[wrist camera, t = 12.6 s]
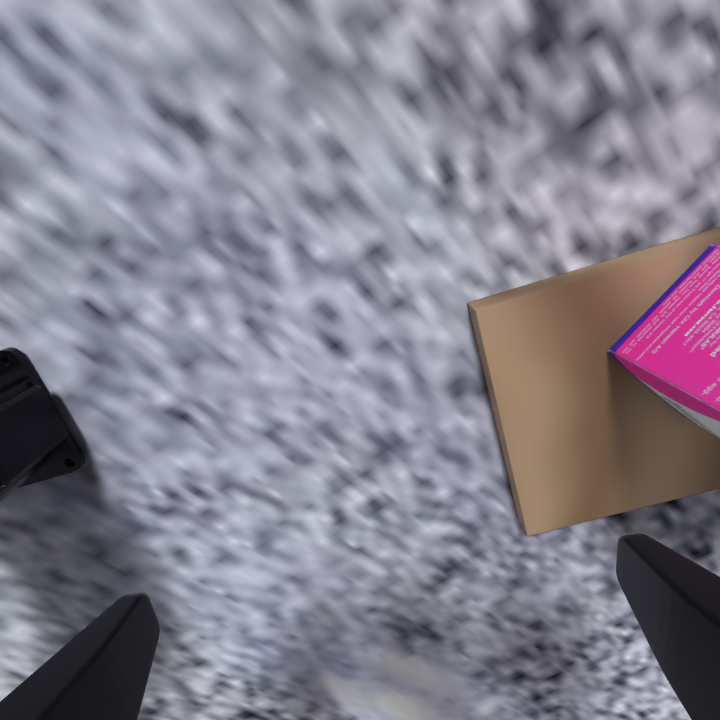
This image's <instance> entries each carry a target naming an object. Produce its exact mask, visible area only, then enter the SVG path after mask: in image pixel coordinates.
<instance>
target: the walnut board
mask: <svg viewBox="0 0 720 720" xmlns="http://www.w3.org/2000/svg"><path fill="white" fill-rule="evenodd" d="M712 244H718V245H720V227H717V228H714V229H711V230H707V231H704V232H701V233H697V234H694V235H691V236H688V237H684V238H681V239H678V240H674V241H671V242H668V243H664V244H661V245H658V246H654V247H651V248H648V249H644V250H641V251H638V252H634V253H631V254H628V255H625V256H621V257H618V258H615V259H611V260H608V261H605V262H601V263H598V264H595V265H591V266H588V267H585V268H581V269H578V270H575V271H571V272H568V273H565V274H562V275H558V276H555V277H552V278H548V279H545V280H542V281H538V282H535V283H532V284H528V285H525V286H522V287H518V288H515V289H512V290H508V291H505V292H502V293H499V294H495V295H492V296H489V297H485V298H482V299H479V300H475V301H472V302H469V303H467V304H468V308H469V312H470V317H471V321H472V325H473V329H474V334H475V338H476V342H477V346H478V351H479V355H480V359H481V363H482V368H483V372H484V376H485V380H486V385H487V389H488V393H489V397H490V402H491V406H492V410H493V414H494V419H495V423H496V427H497V431H498V436H499V440H500V444H501V448H502V453H503V457H504V461H505V465H506V470H507V474H508V478H509V482H510V487H511V491H512V495H513V499H514V504H515V508H516V512H517V516H518V518H519V520H520V522H521V524H522V526H523V528H524V530H525V532H526V534H527V536H530V535H534V534H538V533H542V532H546V531H550V530H554V529H558V528H562V527H566V526H570V525H574V524H578V523H582V522H586V521H590V520H594V519H598V518H602V517H606V516H610V515H614V514H618V513H622V512H626V511H630V510H634V509H638V508H642V507H646V506H650V505H654V504H658V503H663V502H667V501H671V500H675V499H679V498H683V497H687V496H691V495H695V494H699V493H703V492H707V491H711V490H715V489H719V488H720V438H719V437H717V436H715V435H714V434H712V433H711V432H709V431H707V430H706V429H704V428H702V427H701V426H699V425H697V424H695V423H693V422H691V421H690V420H689V419H687V418H686V417H685V416H683V415H682V414H681V413H679V412H678V411H677V410H675V409H674V408H673V407H672V406H670V405H669V404H668V403H666V402H665V401H664V400H663V399H661V398H660V397H659V396H658V395H657V394H655V393H654V392H653V391H652V390H650V389H649V388H648V387H647V386H645V385H644V384H643V383H642V382H641V381H639V380H638V379H637V378H636V377H634V376H633V375H632V374H631V373H630V372H628V371H627V370H626V369H625V368H624V367H623V366H622V365H620V364H619V363H618V362H617V361H616V360H615V359H614V358H613V357H612V356H611V355H610V354H609V353H608V349H609V348H610V347H611V346H612V345H613V344H614V343H615V342H616V341H617V340H618V339H619V338H620V337H621V336H622V335H623V334H624V333H625V332H627V331H628V330H629V329H630V328H631V327H632V326H633V325H634V324H635V323H636V322H637V320H638V319H639V318H640V317H641V316H642V315H643V314H644V313H645V312H646V311H647V310H648V309H649V308H650V307H651V306H652V305H653V304H654V303H655V302H656V301H657V300H658V299H659V298H660V297H661V296H662V295H663V294H664V293H665V292H666V291H667V289H668V288H669V287H670V286H671V285H672V284H673V283H674V282H675V281H676V280H677V279H678V278H679V277H680V276H681V275H682V274H683V273H684V272H685V271H686V270H687V269H688V268H689V267H690V266H691V265H692V264H693V263H694V262H695V261H696V260H697V259H698V258H699V256H700V255H701V254H702V253H703V252H704V251H705V250H706V249H707V248H708V247H709V246H710V245H712Z"/></svg>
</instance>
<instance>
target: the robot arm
mask: <svg viewBox="0 0 720 720" xmlns="http://www.w3.org/2000/svg"><path fill="white" fill-rule="evenodd" d="M8 356H9V357H11V358H12V360H13V363H12V362H10V361H9V359H8ZM70 458H71V459H73V460H74V461H75V463H74V462H72V461H71V460H70ZM84 462H85V458H84V455H83V453H82V452H81V450H80V448H79V447H78V445H77V443H76V442H75V440H74V438H73V437H72V435H71V433H70V432H69V430H68V428H67V427H66V425H65V423H64V422H63V420H62V418H61V417H60V415H59V413H58V412H57V410H56V408H55V407H54V405H53V403H52V402H51V400H50V398H49V397H48V395H47V393H46V392H45V390H44V388H43V387H42V385H41V383H40V382H39V380H38V378H37V377H36V375H35V373H34V372H33V370H32V368H31V367H30V365H29V363H28V362H27V360H26V358H25V357H24V355H23V354H22V353H21V351H19V350H18V349H16V348H12V347H11V348H6V349H3V350H0V502H1V501H2V500H3V499H4V498H6V497H7V496H8V495H9V494H10V493H11V492H13V491H14V490H15V489H16V488H18V487H22V486H25V485H29V484H32V483H36V482H39V481H43V480H46V479H50V478H53V477H56V476H60V475H63V474H67V473H70V472H74V471H76V470H78V469H79V468H80V467H81V466H82V465H83V464H84ZM616 573H617V578H618V581H619V584H620V586H621V588H622V590H623V592H624V594H625V596H626V598H627V600H628V602H629V604H630V606H631V608H632V610H633V612H634V615H635V617H636V619H637V621H638V623H639V625H640V627H641V629H642V631H643V633H644V635H645V637H646V639H647V641H648V643H649V645H650V647H651V649H652V651H653V653H654V655H655V657H656V659H657V661H658V663H659V665H660V667H661V669H662V671H663V673H664V674H665V676H666V678H667V680H668V681H669V683H670V685H671V687H672V688H673V690H674V691H675V693H676V695H677V696H678V698H679V700H680V701H681V703H682V705H683V706H684V708H685V710H686V711H687V713H688V714H689V716H690V718H691V719H692V720H720V577H719V576H717V575H716V574H714V573H712V572H710V571H708V570H707V569H705V568H703V567H701V566H700V565H698V564H696V563H694V562H693V561H691V560H689V559H687V558H686V557H684V556H682V555H680V554H678V553H677V552H675V551H673V550H671V549H670V548H668V547H666V546H664V545H663V544H661V543H659V542H657V541H656V540H654V539H652V538H650V537H648V536H646V535H644V534H633V535H625V536H621V537H620V538H619V540H618V546H617V563H616ZM159 632H160V627H159V622H158V619H157V617H156V614H155V612H154V609H153V607H152V604H151V602H150V599H149V597H148V596H147V595H146V594H145V593H137V594H128V595H124V596H122V597H121V598H120V599H118V600H117V601H116V602H115V603H114V604H113V605H111V606H110V607H109V608H108V609H107V610H106V611H104V612H103V613H102V614H101V615H100V616H99V617H98V618H96V619H95V620H94V621H93V622H92V623H91V624H90V625H88V626H87V627H86V628H85V629H84V630H83V631H81V632H80V633H79V634H78V635H77V636H76V637H75V638H73V639H72V640H71V641H70V642H69V643H68V644H66V645H65V646H64V647H63V648H62V649H61V650H60V651H58V652H57V653H56V654H55V655H54V656H53V657H51V658H50V659H49V660H48V661H47V662H46V663H45V664H43V665H42V666H41V667H40V668H39V669H38V670H36V671H35V672H34V673H33V674H32V675H31V676H30V677H28V678H27V679H26V680H25V681H24V682H23V683H21V684H20V685H19V686H18V687H17V688H16V689H15V690H13V691H12V692H11V693H10V694H9V695H8V696H6V697H5V698H4V699H3V700H2V701H1V702H0V720H137V719H138V715H139V712H140V708H141V704H142V700H143V696H144V693H145V689H146V685H147V681H148V677H149V673H150V669H151V666H152V662H153V658H154V654H155V650H156V646H157V643H158V639H159Z"/></svg>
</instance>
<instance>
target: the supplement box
mask: <svg viewBox="0 0 720 720" xmlns="http://www.w3.org/2000/svg"><path fill="white" fill-rule="evenodd" d="M608 353H609V354H610V355H611V356H612V357H613V358H614V359H615V360H616V361H617V362H618V363H619V364H620V365H622V366H623V367H624V368H625V369H626V370H627V371H628V372H630V373H631V374H632V375H633V376H634V377H636V378H637V379H638V380H639V381H641V382H642V383H643V384H644V385H645V386H647V387H648V388H649V389H650V390H652V391H653V392H654V393H655V394H657V395H658V396H659V397H660V398H661V399H663V400H664V401H665V402H666V403H668V404H669V405H670V406H672V407H673V408H674V409H675V410H677V411H678V412H679V413H681V414H682V415H683V416H685V417H686V418H687V419H689V420H690V421H691V422H693V423H695V424H697V425H699V426H701V427H702V428H704V429H706V430H707V431H709V432H711V433H712V434H714V435H715V436H717V437H719V438H720V245H718V244H712V245H710V246H709V247H708V248H707V249H706V250H705V251H704V252H703V253H702V254H701V255H700V256H699V258H698V259H697V260H696V261H695V262H694V263H693V264H692V265H691V266H690V267H689V268H688V269H687V270H686V271H685V272H684V273H683V274H682V275H681V276H680V277H679V278H678V279H677V280H676V281H675V282H674V283H673V284H672V285H671V286H670V287H669V288H668V289H667V291H666V292H665V293H664V294H663V295H662V296H661V297H660V298H659V299H658V300H657V301H656V302H655V303H654V304H653V305H652V306H651V307H650V308H649V309H648V310H647V311H646V312H645V313H644V314H643V315H642V316H641V317H640V318H639V319H638V320H637V322H636V323H635V324H634V325H633V326H632V327H631V328H630V329H629V330H628V331H627V332H625V333H624V334H623V335H622V336H621V337H620V338H619V339H618V340H617V341H616V342H615V343H614V344H613V345H612V346H611V347H610V348H609V349H608Z"/></svg>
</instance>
